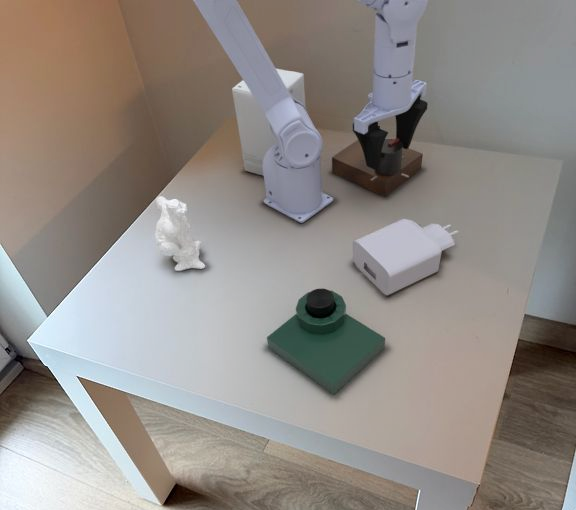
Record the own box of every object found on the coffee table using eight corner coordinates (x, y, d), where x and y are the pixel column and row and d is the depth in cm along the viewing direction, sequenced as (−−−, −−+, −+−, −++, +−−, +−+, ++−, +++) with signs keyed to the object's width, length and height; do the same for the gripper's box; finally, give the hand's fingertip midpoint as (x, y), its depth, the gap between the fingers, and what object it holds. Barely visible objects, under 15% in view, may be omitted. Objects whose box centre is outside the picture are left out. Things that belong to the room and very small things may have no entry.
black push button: (301, 310, 72) (300, 299, 70) (320, 295, 73) (319, 284, 72) (321, 322, 70) (320, 312, 69) (340, 307, 72) (339, 296, 70)
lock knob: (389, 179, 88) (390, 154, 85) (369, 169, 91) (369, 145, 87) (406, 167, 90) (408, 142, 87) (386, 158, 92) (387, 133, 89)
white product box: (285, 183, 96) (275, 97, 84) (244, 171, 99) (229, 88, 87) (310, 157, 100) (305, 72, 88) (270, 146, 104) (260, 63, 92)
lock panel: (327, 176, 96) (326, 159, 93) (368, 147, 100) (368, 131, 98) (390, 205, 89) (391, 188, 87) (432, 174, 93) (434, 157, 91)
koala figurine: (218, 266, 84) (201, 199, 75) (181, 285, 82) (158, 220, 73) (193, 239, 89) (174, 174, 79) (157, 257, 87) (133, 192, 77)
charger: (471, 258, 80) (387, 298, 77) (432, 226, 85) (352, 263, 82) (477, 232, 76) (389, 273, 73) (436, 200, 81) (352, 237, 78)
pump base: (267, 347, 73) (263, 327, 70) (320, 303, 77) (319, 282, 74) (334, 395, 68) (333, 376, 64) (388, 345, 71) (390, 325, 68)
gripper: (403, 44, 82) (397, 130, 93) (338, 81, 77) (339, 167, 88) (441, 55, 79) (430, 143, 90) (376, 95, 74) (372, 183, 85)
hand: (387, 156), depth 89 cm, fingers open, 7 cm apart
